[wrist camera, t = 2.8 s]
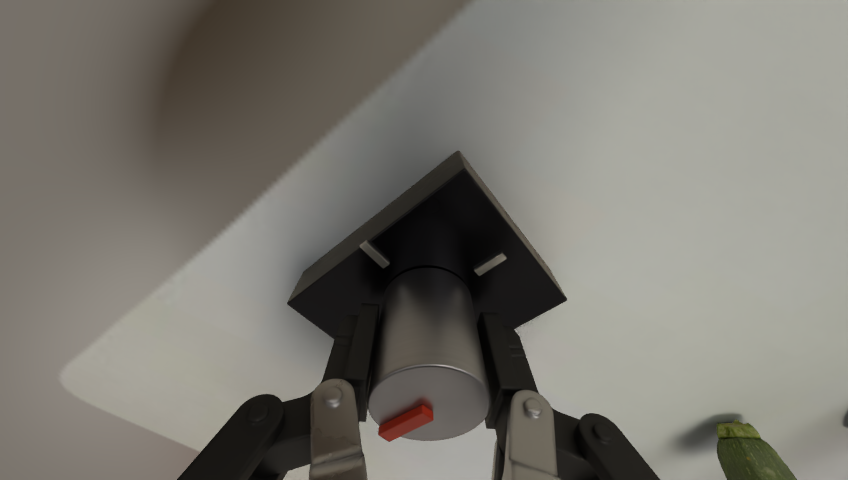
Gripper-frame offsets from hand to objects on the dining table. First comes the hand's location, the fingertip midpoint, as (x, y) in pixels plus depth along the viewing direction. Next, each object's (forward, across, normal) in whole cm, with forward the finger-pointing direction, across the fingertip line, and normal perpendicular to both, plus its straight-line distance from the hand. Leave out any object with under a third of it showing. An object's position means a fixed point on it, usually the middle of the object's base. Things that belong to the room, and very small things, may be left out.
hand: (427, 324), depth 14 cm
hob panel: (+4, 0, 0) cm, 4 cm away
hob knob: (+1, 0, 0) cm, 1 cm away
